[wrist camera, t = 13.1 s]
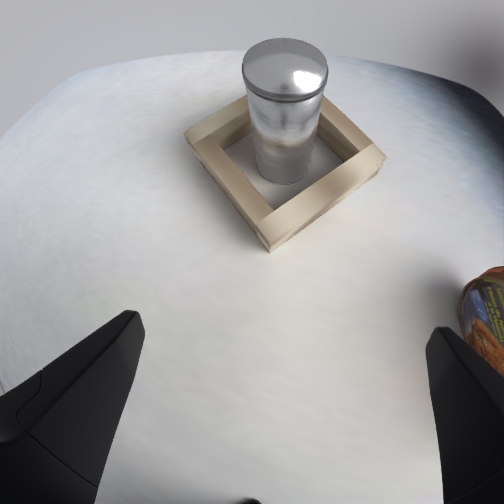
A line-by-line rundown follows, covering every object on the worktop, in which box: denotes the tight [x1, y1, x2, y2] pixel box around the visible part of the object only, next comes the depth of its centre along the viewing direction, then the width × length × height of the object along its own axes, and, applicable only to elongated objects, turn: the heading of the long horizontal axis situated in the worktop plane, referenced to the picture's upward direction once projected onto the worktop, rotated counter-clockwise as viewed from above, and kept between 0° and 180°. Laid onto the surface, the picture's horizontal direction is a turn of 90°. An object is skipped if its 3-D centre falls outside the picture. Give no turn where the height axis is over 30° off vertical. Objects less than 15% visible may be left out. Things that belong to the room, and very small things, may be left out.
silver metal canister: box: [242, 38, 328, 185], centre depth 19 cm, size 5×5×11 cm
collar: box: [184, 95, 387, 253], centre depth 23 cm, size 11×11×3 cm
